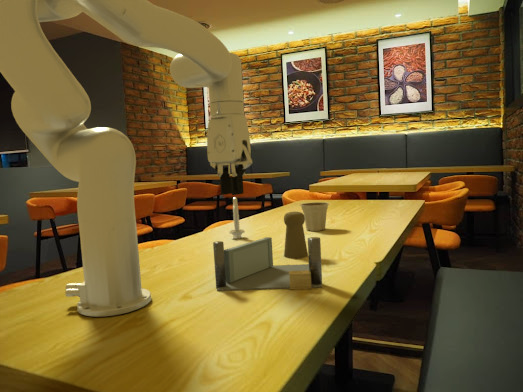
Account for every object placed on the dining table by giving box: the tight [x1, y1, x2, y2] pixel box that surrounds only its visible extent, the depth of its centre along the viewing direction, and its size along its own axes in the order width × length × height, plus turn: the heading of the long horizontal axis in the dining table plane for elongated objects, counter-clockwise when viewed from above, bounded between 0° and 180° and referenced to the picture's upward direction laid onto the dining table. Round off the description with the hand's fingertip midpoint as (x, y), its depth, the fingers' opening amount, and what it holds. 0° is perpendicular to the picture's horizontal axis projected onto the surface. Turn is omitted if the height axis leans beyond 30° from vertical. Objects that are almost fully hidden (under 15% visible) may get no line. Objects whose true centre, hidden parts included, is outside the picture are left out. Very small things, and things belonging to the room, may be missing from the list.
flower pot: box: [300, 201, 330, 232], centre depth 140 cm, size 9×9×9 cm
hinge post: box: [212, 240, 226, 289], centre depth 83 cm, size 2×2×9 cm
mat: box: [216, 263, 323, 292], centre depth 88 cm, size 20×16×1 cm
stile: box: [289, 236, 323, 291], centre depth 81 cm, size 6×4×9 cm, turn 86°
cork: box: [283, 211, 308, 260], centre depth 105 cm, size 6×6×11 cm
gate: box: [224, 236, 274, 283], centre depth 90 cm, size 14×1×6 cm, turn 141°
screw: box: [229, 196, 245, 240], centre depth 132 cm, size 13×5×5 cm
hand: (232, 193), depth 96 cm, fingers open, 2 cm apart
